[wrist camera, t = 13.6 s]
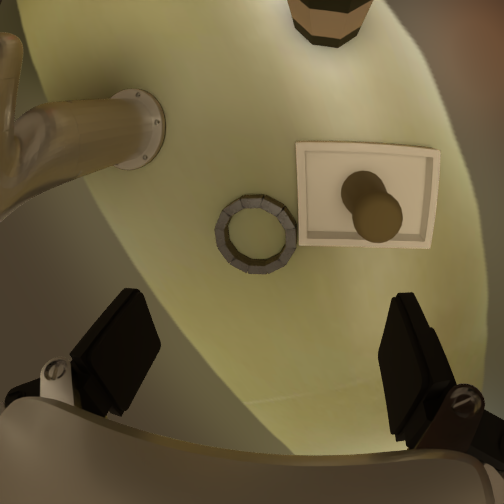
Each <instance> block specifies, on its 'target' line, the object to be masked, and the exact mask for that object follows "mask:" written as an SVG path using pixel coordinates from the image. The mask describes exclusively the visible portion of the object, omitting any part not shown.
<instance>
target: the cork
mask: <svg viewBox="0 0 504 504" xmlns="http://www.w3.org/2000/svg"><path fill="white" fill-rule="evenodd" d="M341 198H342V202H343V204H344V205H345V207H346V208H347V209H348V211H349V212H350V213H351V214H352V220H353V224H354V228H355V229H356V231H357V233H358V234H359V235H360V236H361V237H362V238H364V239H365V240H367V241H369V242H372V243H383V242H387V241H389V240H390V239H392V238H394V236H395V235H396V234H397V233H398V232H399V230H400V228H401V226H402V221H403V215H402V209H401V207H400V205H399V203H398V201H397V200H396V199H395V198H394V197H393V196H392V195H391V194H389V193H387V191H386V188H385V186H384V184H383V182H382V180H381V179H380V178H379V177H378V176H377V175H376V174H374V173H372V172H370V171H357V172H354V173H352V174H351V175H349V176H348V177H347V178H346V180H345V181H344V183H343V185H342V188H341Z"/></svg>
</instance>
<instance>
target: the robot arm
mask: <svg viewBox="0 0 504 504" xmlns="http://www.w3.org/2000/svg"><path fill="white" fill-rule="evenodd" d="M22 60H23V45H22V43H21V40H20V39H19V38H18V37H17V36H15V35H13V34H10V33H5V32H0V222H1V221H2V220H3V219H4V218H6V217H7V216H8V215H9V214H10V213H11V212H12V211H14V210H15V209H16V208H18V207H19V206H20V205H22V204H23V203H25V202H26V201H28V200H30V199H31V198H33V197H35V196H37V195H39V194H41V193H43V192H45V191H47V190H50V189H52V188H54V187H57V186H59V185H61V184H64V183H66V182H69V181H71V180H74V179H76V178H79V177H82V176H85V175H87V174H90V173H93V172H96V171H98V170H101V169H104V168H107V167H110V166H115V167H117V168H119V169H123V170H133V169H137V168H140V167H142V166H145V165H146V164H147V163H149V162H150V161H151V160H152V159H153V158H154V157H155V156H156V154H157V153H158V152H159V150H160V148H161V145H162V143H163V139H164V136H165V118H164V113H163V110H162V108H161V106H160V104H159V102H158V101H157V100H156V98H155V97H153V96H152V95H151V94H150V93H148V92H146V91H144V90H140V89H125V90H122V91H119V92H118V93H116V94H114V95H113V96H112V97H111V98H110V99H86V100H71V101H59V102H50V103H44V104H41V105H38V106H35V107H33V108H32V109H30V110H29V111H27V112H25V113H24V114H23V115H22V116H20V117H19V118H18V119H17V120H16V121H15V122H14V118H15V117H14V116H15V107H16V99H17V92H18V85H19V78H20V72H21V66H22ZM159 121H160V123H159ZM160 347H161V342H160V339H159V337H158V334H157V331H156V329H155V326H154V324H153V321H152V318H151V315H150V312H149V309H148V306H147V304H146V301H145V298H144V295H143V294H142V293H141V292H140V291H139V290H138V289H132V288H125V289H124V290H122V291H121V292H120V294H119V295H118V296H117V297H116V298H115V299H114V301H113V302H112V303H111V304H110V305H109V306H108V307H107V309H106V310H105V311H104V312H103V313H102V315H101V316H100V317H99V318H98V319H97V321H96V322H95V323H94V324H93V325H92V327H91V328H90V329H89V330H88V331H87V333H86V334H85V335H84V336H83V338H82V339H81V340H80V341H79V343H78V344H77V345H76V346H75V348H74V349H73V350H72V351H71V353H70V356H71V357H72V361H71V362H70V361H69V360H68V359H67V358H65V357H55V358H53V359H51V360H50V361H48V362H47V363H46V364H45V365H44V367H43V368H42V370H41V378H38V379H36V380H33V381H30V382H28V383H25V384H22V385H19V386H16V387H15V388H13V389H11V390H10V391H9V392H8V394H7V396H6V398H5V403H4V402H1V403H0V504H504V420H502V419H501V418H499V417H497V416H495V415H493V414H492V413H489V412H488V411H486V410H484V408H485V400H484V397H483V395H482V393H481V392H480V391H479V390H478V389H477V388H476V387H474V386H473V385H470V384H458V385H457V384H456V381H455V379H454V376H453V373H452V371H451V368H450V365H449V363H448V360H447V358H446V355H445V353H444V351H443V348H442V346H441V343H440V341H439V339H438V337H437V334H436V332H435V330H434V329H433V328H432V327H429V325H428V322H427V320H426V318H425V316H424V314H423V312H422V309H421V307H420V305H419V303H418V301H417V299H416V297H415V295H414V293H412V292H410V293H398V294H397V295H396V297H393V298H392V299H391V303H390V308H389V312H388V317H387V321H386V325H385V329H384V333H383V336H382V340H381V344H380V347H379V351H378V361H379V366H380V371H381V376H382V382H383V387H384V393H385V399H386V405H387V412H388V419H389V426H390V432H391V434H392V435H393V434H395V438H396V442H398V441H404V440H405V441H406V446H407V447H408V449H407V450H402V451H391V452H380V453H369V454H354V455H323V456H308V455H279V454H266V453H255V452H246V451H238V450H230V449H224V448H217V447H211V446H205V445H201V444H195V443H191V442H186V441H181V440H176V439H173V438H169V437H165V436H161V435H157V434H153V433H149V432H146V431H143V430H139V429H136V428H133V427H130V426H127V425H123V424H120V423H118V422H115V421H112V420H109V419H108V417H107V413H108V411H110V413H112V414H115V415H118V416H122V414H123V412H124V411H126V410H127V409H128V408H129V406H130V404H131V403H132V400H133V399H134V397H135V395H136V393H137V391H138V389H139V387H140V385H141V384H142V382H143V380H144V378H145V376H146V374H147V372H148V370H149V369H150V367H151V365H152V363H153V361H154V360H155V358H156V356H157V354H158V352H159V350H160Z"/></svg>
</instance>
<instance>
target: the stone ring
mask: <svg viewBox="0 0 504 504" xmlns="http://www.w3.org/2000/svg"><path fill="white" fill-rule="evenodd" d="M283 206H284V204H282V203H281V202H279V201H277V200H275V199H273V198H271V197H269V196H267V195H266V196H264V194H259V195H244V196H241V197H240V198H238V199H236V200H235V201H233V202H232V203H230V204H229V205H227V206H226V207H225V208H224V209H223V210H222V212H221V214H220V217H219V219H218V221H217V223H216V226H215V236H216V243H217V247H218V249H219V251H220V252H221V253H222V255H223V256H224V258H225V259H226V260H227V262H228V263H230V262H231V263H230V265H232V266H234V267H236V268H238V269H240V270H242V271H243V272H245V273H247V271H248V274H267V273H268V274H269V273H271V272H273V271H275V270H278V269H280V268H282V267H284V266H285V265H286V264H287V262H288V261H289V259H290V258H291V256H292V254H293V253H294V251H295V249H296V244H297V224H296V221H295V220H294V218H293V217H292V215H291V214H290V212H289V210H288V209H287V207H286V206H284V207H283ZM243 208H261V209H263V210H265V211H267V212H269V213H271V214H273V215H274V216H276V217H277V218H278V220H279V221H280V223H281V225H282V226H283V228H284V229H285V231H286V244H285V246H284V247H283V249H282V251H281V252H280V253H279V254H277V255H275V256H273V257H271V258H269V259H267V260H264V259H251V258H249V257H247V256H245V255H243V254H241V253H239V252H238V251H237V249H236V248H235V246H234V245H233V244H232V242H231V241H230V239H229V230H228V224H229V222H230V220H231V218H232V215H234V214H235V213H237V212H238V211H240V210H242V209H243Z"/></svg>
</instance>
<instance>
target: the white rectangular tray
mask: <svg viewBox="0 0 504 504" xmlns="http://www.w3.org/2000/svg"><path fill="white" fill-rule="evenodd" d="M296 161H297V185H298V218H299V246H342V247H383V248H419V249H430V246H431V241H432V235H433V228H434V221H435V214H436V206H437V197H438V186H439V172H440V150H437V149H434V148H429V147H421V146H412V145H401V144H389V143H375V142H354V141H297V142H296ZM357 171H370V172H372V173H374V174H376V175H377V176H378V177H379V178H380V179H381V180H382V182H383V184H384V186H385V188H386V191H387V193H389V194H391V195H392V196H393V197H394V198H395V199H396V200H397V201H398V203H399V205H400V207H401V209H402V215H403V221H402V226H401V228H400V230H399V232H398V233H397V234H396V235H395V236H394V238H392V239H390V240H389V241H387V242H383V243H372V242H369V241H367V240H365V239H364V238H362V237H361V236H360V235H359V234H358V233H357V231H356V229H355V228H354V224H353V220H352V214H351V213H350V212H349V211H348V209H347V208H346V207H345V205H344V204H343V202H342V198H341V188H342V185H343V183H344V181H345V180H346V178H347V177H348V176H349V175H351V174H352V173H354V172H357Z"/></svg>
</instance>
